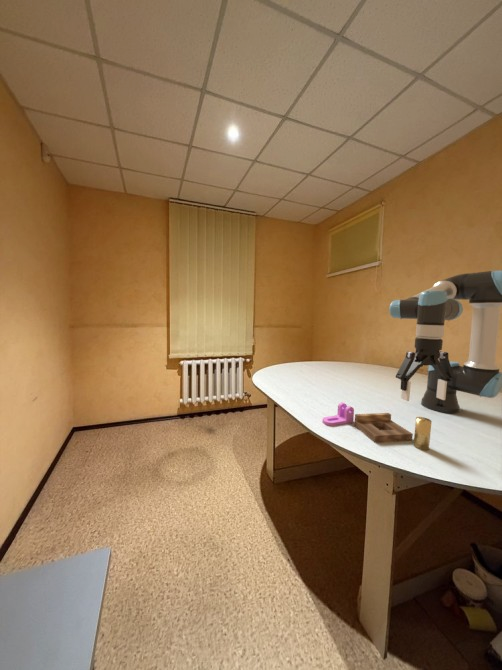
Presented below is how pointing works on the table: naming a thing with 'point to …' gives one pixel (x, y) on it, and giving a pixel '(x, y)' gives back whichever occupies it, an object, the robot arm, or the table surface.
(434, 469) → the table surface
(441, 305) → the robot arm
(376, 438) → the frame
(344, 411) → the bracket
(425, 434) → the cylinder
